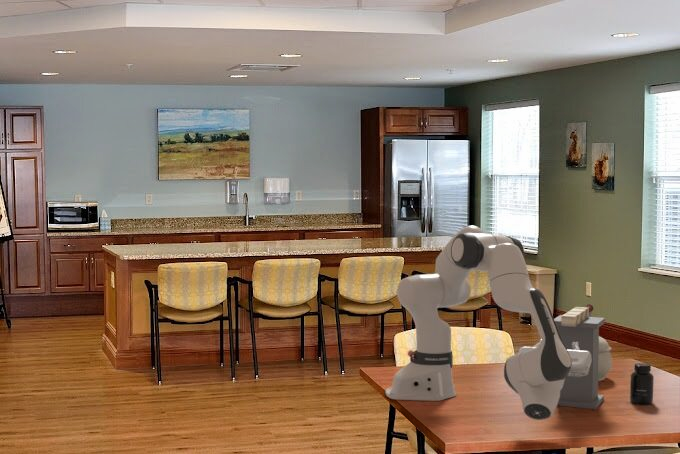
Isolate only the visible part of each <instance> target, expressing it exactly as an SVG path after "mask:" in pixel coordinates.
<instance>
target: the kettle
mask: <svg viewBox="0 0 680 454" xmlns="http://www.w3.org/2000/svg"><path fill="white" fill-rule="evenodd" d="M584 307H587V308H589V317H593V313H592V312H593V311H594V306H593V304H586V305H585V306H584ZM611 351H612V347H611V346H610V345H609V343H608V342H607V340H606V339H605V338H603V337H602V336H600V335H599V354H598V382H602V381H605V380H606V378H607V377H606V375H608V374H609V372H610V371H611V370H612V368H613V358H612V354H611Z"/></svg>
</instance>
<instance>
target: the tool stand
mask: <svg viewBox="0 0 680 454" xmlns="http://www.w3.org/2000/svg"><path fill="white" fill-rule="evenodd" d="M562 315H563V314H560V315H558V316H557V317H555V318H554V321H555V323H556V326H557V329H558V331H559V334H560V336H561V339H562V341H563V343H564V345H565V347H566V349H567V350H572V342H578V347H579V349H580V350H581V351H589V352H590V354H591V359H592V362H591V365H590V368H589V373H588V375H585V376H582V377H576V376H567V377H566V378H565V381H564V384H563V387H562V389H561V391H560V398H559V401H558V404H557V406H562V407H571V408H579V409H588V410H589V409H590V410H597V409H598V408H599V407H600V405H601V404H602V403H603V402H604V400H605V399H604V397H605V395H604V394H603V395H602V394H599V381H598V354H599V336H600V334H599V333H600V328H601V326H604V324H605V323H606V318H605V317H597V316H596V317H595V316H592V317H588V318H587V319H585V320H584V321H582V322H581V323H580V324H578V325H577V326H575V327H570V326H561V316H562Z"/></svg>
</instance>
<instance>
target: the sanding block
mask: <svg viewBox="0 0 680 454" xmlns="http://www.w3.org/2000/svg"><path fill="white" fill-rule="evenodd" d="M561 315H562V316H561V326H570V327H575V326H577V325H578V324H580V323H581V322H582V321H584V320H585V319H587V318H588V317H589V308H587V307H585V306H584V307H582V306H575V307H574V308H572V309H570V310H568V311H567V312H566V313H564V314H561Z"/></svg>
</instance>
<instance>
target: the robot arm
mask: <svg viewBox="0 0 680 454" xmlns="http://www.w3.org/2000/svg"><path fill="white" fill-rule="evenodd" d="M474 270H475V271H480V272H488V279H489V287H490V292H491V296H492V299H493V301H494V303H495V304H496V305H497V306H498V307H500V308H501V309H503V310H505V311H507V312H513V313H525V314H527V313H528V314H530V315H531V316H532V318H533V321H534V324H535V326H536V328H537V332H538V335H539V337H540V339H539V341H538V342H537V343H536V344H534V345H533V346H522V347H520V348H519V349H518V352H517V353H516V354H513V355H510V356H508V358H506V361H505V363H504V366H503V367H504V368H503V377H504V381H505V382H506V383H507V385H508V386H509V388H510V389H511V390H512V391H514V392H515V393H516V394H517V395H519V399H520V400H521V404H522V410H523V413H524V414H525V415H526V416H527V417H529V418H530V419H532V420H539V421H541V420H546V419H549V418H550V417H551V416H552V415H553V414H554V413H555V411H556V409H557V407H558V405H557V404H558V401H559V398H560V391H561V389H562V387H563V384H564V381H565V378H566V377H567V376H576V377H582V376H585V375H588V373H589V368H590V365H591V362H592V359H591V354H590V352H589V351H581V350H580V349H579V347H578V342H572V350H567V349H566V347H565V345H564V343H563V341H562V339H561V336H560V334H559V331H558V329H557V326H556V323H555V321H554V319H555V318H554V315H553V313H552V311H551V310H552V309H551V308H550V305H549V303H548V301H547V299H546V297H545V296H544V294H543V292H542V291H541V290H539V289H537V288H534V286H533V285H532V283H531V280H530V275H529V270H528V267H527V263H526V261H525V249H524V245H523V243H522V242H521V241H520V240H519V239H517V238H516V237H513V236H509V235H507V236H504V235H500V234H497V233H486V232H485V231H484V230H483V229H482V228H480V227H479V226H477V225H466V226H464V227H463V228H461V229H460V230H459V231H457V232H456V233H455V234H454V236H452V238H450V240H449V241H448V242H447V244H446V245H445V247H444V248H443V249H442V251H441V252H440V253H439V255H437V257H436V258H435V271H436V272H435V273H425V274H424V273H423V274H414V275H410V276H407V277H405V278H402V279H401V280H400V281H399V283H398V285H397V289H396V295H397V299H398V302H399V303H400V305H401V306H402V307H404V309H406V310H407V311H408V313H409V314H410V315H411V318H412V320H413V322H414V325H415V333H416V349H415V350H414V351H413V350H412V349H410V350H409V349H408V351H407V356H408V357H409V360H410V362H408V363H407V364H406V365H405V366H403V367H402V368H401V369H399V370H397V372H395V374H394V376H393V378H392V379H393V380H392V384H391V385H392V386H389V387H388V388H386V389H385V396H386V397H388V398H389V399H391V400H401V401H402V400H403V401H427V402H428V401H431V402H432V401H433V402H434V401H435V402H440V401H443V400H445V399H450V398H454V397H455V396H456V395H457V393H456V390H455V386H454V380H453V379H454V378H453V373H452V372H453V371H452V370H453V364H454V362H453V361H454V354H453V351H452V328H451V326H450V324H448V322H447V321H445V320H443V319H442V318H440V316H439V313H438V309H439V308H440V309H441V308H451V307H452V308H453V307H456V306H459V305H461V304H465V303H466V302H467V301H468V300H469V298H470V296H471V293H472V288H471V282H470V281H469V279H468V277H469V276H470V275H471V273H472V272H473V271H474Z"/></svg>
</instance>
